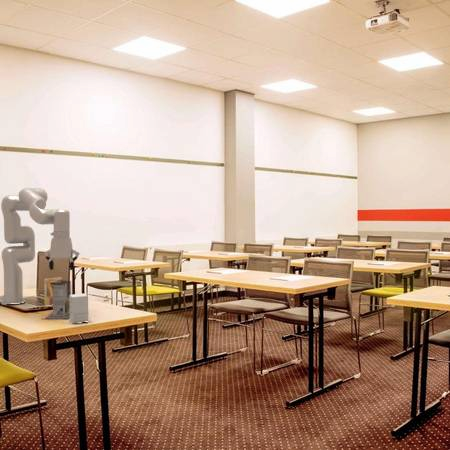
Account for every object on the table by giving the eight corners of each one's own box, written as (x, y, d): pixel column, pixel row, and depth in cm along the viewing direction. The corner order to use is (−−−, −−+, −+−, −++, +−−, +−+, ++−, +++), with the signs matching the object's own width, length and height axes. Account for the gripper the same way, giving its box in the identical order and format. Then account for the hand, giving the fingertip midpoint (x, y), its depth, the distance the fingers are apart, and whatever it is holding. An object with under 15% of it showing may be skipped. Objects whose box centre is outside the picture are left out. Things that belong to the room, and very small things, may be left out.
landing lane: (41, 319, 244) (41, 318, 244) (53, 311, 262) (53, 310, 262) (68, 319, 244) (68, 318, 244) (78, 311, 262) (78, 310, 262)
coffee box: (58, 312, 258) (58, 280, 257) (71, 312, 258) (71, 280, 257) (52, 316, 249) (52, 283, 248) (65, 316, 249) (65, 283, 248)
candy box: (60, 305, 278) (60, 277, 278) (63, 306, 275) (63, 278, 275) (44, 307, 273) (43, 278, 272) (46, 308, 270) (46, 279, 269)
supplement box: (85, 319, 244) (85, 293, 244) (88, 322, 238) (88, 295, 237) (69, 321, 241) (69, 294, 240) (72, 324, 234) (72, 296, 234)
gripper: (41, 235, 248) (41, 270, 249) (77, 235, 248) (77, 270, 249) (46, 234, 255) (46, 268, 256) (81, 234, 255) (81, 268, 256)
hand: (61, 269), depth 252 cm, fingers open, 9 cm apart
